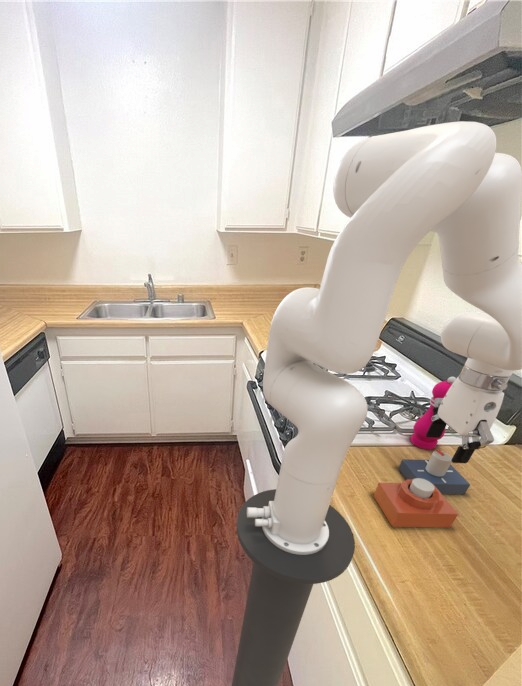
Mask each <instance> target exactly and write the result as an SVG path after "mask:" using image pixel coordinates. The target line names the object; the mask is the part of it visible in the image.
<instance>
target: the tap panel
mask: <svg viewBox="0 0 522 686" xmlns="http://www.w3.org/2000/svg"><path fill="white" fill-rule="evenodd" d="M429 460H430V459H413V458H412V459H407V458H406V459H401V461H400V463H399V466H398V470H399V472H400V473H401V474H402V476H403V477H404V478H405V480H407V479H415V478H421V479H425V480H427V481H429V482H431V483H432V484H434V485H435V487H436V488H437V489H438V490H439V491H440V493H441V494H442V495H465V494H466V493H467V491H468V490H469V488H470V486H471V484H470V482H469V481H468V480H467V479H466V478H465V477H464V476H463V475H462V474H461V473H460V472H459V471H458V470H457V469H456V468H455V467H454V466H453V465H452V463H451V464H450V466H449V468H448V470H447V472H446V473H445V475H444V476H441V477H439V476H434V475H432V474H430V473H428V472H427V471H426V466H427V464H428V462H429Z"/></svg>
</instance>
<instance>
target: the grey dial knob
mask: <svg viewBox="0 0 522 686" xmlns="http://www.w3.org/2000/svg"><path fill="white" fill-rule="evenodd" d="M452 458H453V456H452V455H451V454H449V453H448V452H446V451H442V450H440V449H436V450H434V451H433V452H432V453H431V455H430V458H429V459H428V460H429V462H428V464H427V466H426V471H427V472H428V473H430V474H432V475H434V476H439V477H441V476H444V475H445V473H446V472H447V470H448V468H449V466H450V464H451V465H452V463H453V462H452V461H451V460H452Z"/></svg>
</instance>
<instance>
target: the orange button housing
mask: <svg viewBox="0 0 522 686" xmlns="http://www.w3.org/2000/svg"><path fill="white" fill-rule="evenodd" d="M412 480H413V479H405V480H403V481H402V482H378V483H377V486H376V489H375V491H374V493H373V498H374V499H375V501H376V503H377V504H378V506H379V508H380V509H381V511H382V512H383V514H384V516H385V517H386V520H387V521H388V522H389V524H390V526H391V527H394V528H445V529H447V528H451V527H452V525H453V524H454V522H455V521H456V519H457V517H458V516H459V512H457V509H455V508H454V507H453V505H452V504H451V503H450V502H449V501H448V499H447V498H446V497H445V496H444V494H441V493H440V491H439V490H438V489H437V488H436V487H435V485H434V484H433V485H434V491H433V493H432V495H431V496H430V497H429V498H421V497H418V496H416V495H414V494H413V493H411V492H410V490H409V487H410V485H411V483H412Z"/></svg>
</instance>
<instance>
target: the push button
mask: <svg viewBox="0 0 522 686" xmlns="http://www.w3.org/2000/svg"><path fill="white" fill-rule="evenodd" d="M409 490H410V492H411V493H413V494H414V495H416V496H418V497H421V498H429V497H430V496H431V495H432V493H433V491H434V485H433V484H432V483H431V482H429V481H427V480H425V479H421V478H415V479H413V480H412V483H411V485H410V487H409Z"/></svg>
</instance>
